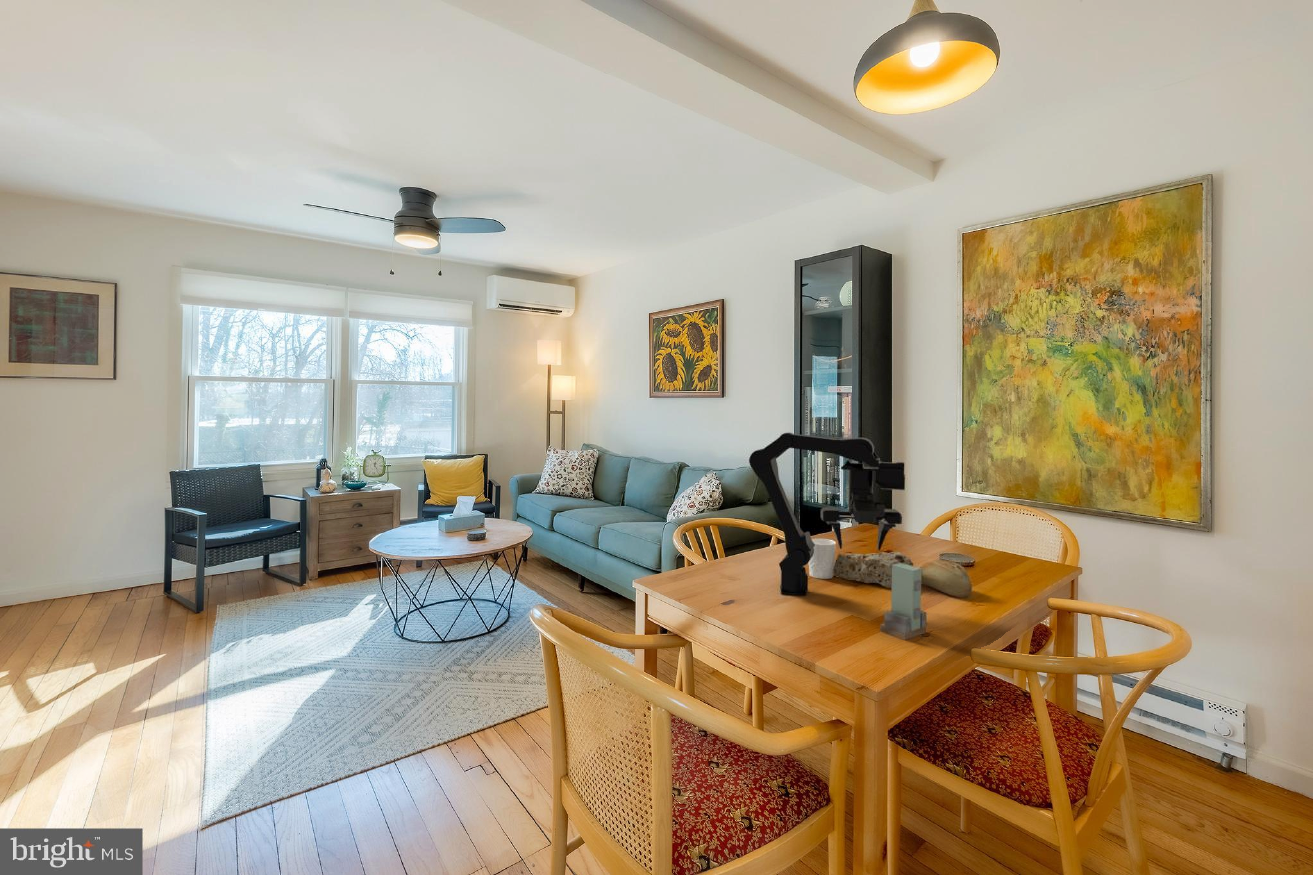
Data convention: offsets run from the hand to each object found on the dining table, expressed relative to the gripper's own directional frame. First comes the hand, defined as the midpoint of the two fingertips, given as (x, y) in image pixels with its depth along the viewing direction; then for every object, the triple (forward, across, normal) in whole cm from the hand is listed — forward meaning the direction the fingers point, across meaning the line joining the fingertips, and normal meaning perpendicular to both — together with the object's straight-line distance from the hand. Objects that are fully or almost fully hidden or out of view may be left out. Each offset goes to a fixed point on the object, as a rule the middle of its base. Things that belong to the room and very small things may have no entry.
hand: (859, 549), depth 146 cm
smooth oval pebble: (+13, +24, +12) cm, 30 cm away
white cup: (+13, -7, +20) cm, 25 cm away
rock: (+13, +7, +19) cm, 25 cm away
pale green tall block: (+12, +6, -20) cm, 24 cm away
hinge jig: (+13, +6, -20) cm, 25 cm away
